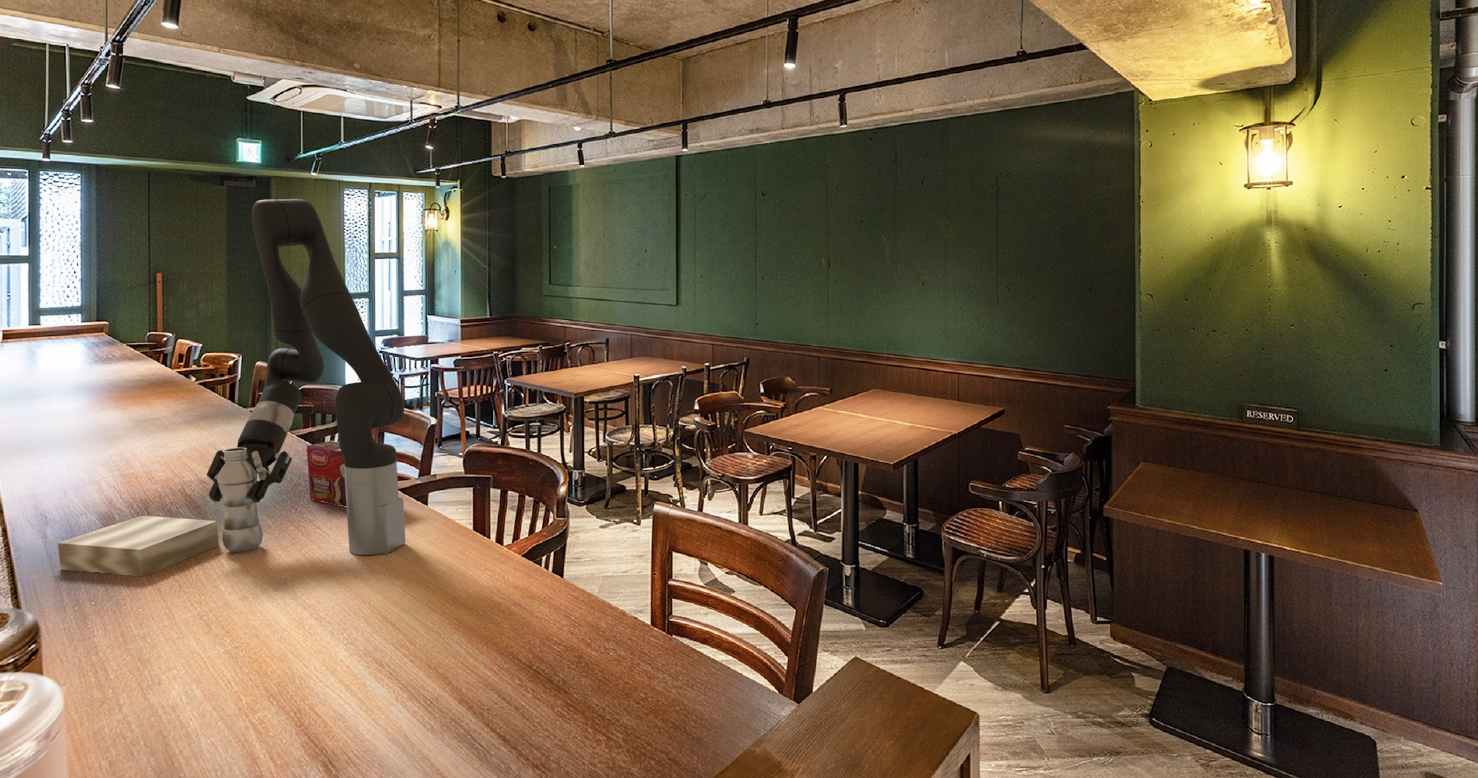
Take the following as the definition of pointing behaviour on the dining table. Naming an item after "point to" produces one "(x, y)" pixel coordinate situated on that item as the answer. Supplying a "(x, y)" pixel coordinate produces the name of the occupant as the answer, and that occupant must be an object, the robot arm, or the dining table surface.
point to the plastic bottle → (239, 502)
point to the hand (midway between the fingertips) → (234, 500)
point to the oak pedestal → (138, 545)
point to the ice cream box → (326, 473)
